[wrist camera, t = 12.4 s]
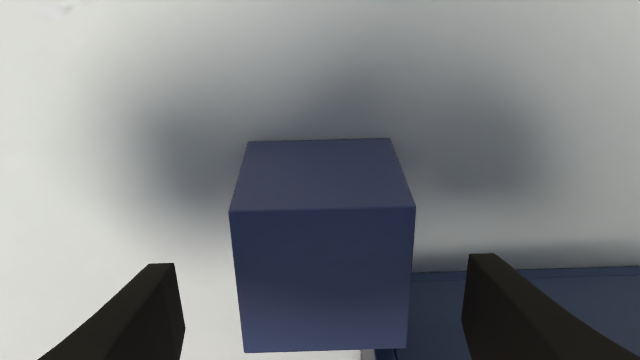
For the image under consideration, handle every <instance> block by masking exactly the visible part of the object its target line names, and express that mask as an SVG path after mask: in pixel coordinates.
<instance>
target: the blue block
mask: <svg viewBox="0 0 640 360" xmlns="http://www.w3.org/2000/svg"><path fill="white" fill-rule="evenodd" d="M228 214H229V223H230V232H231V241H232V250H233V258H234V267H235V276H236V285H237V294H238V303H239V312H240V321H241V330H242V338H243V347H244V352H245V353H264V352H297V351H330V350H363V349H396V348H406V347H407V334H408V319H409V304H410V289H411V274H412V259H413V245H414V230H415V215H416V206H415V203H414V200H413V198H412V195H411V192H410V190H409V187H408V185H407V182H406V179H405V177H404V174H403V171H402V169H401V166H400V164H399V161H398V158H397V156H396V153H395V151H394V148H393V145H392V143H391V140H390V138H376V139H339V140H302V141H265V142H248V144H247V148H246V151H245V155H244V158H243V162H242V165H241V169H240V172H239V176H238V180H237V183H236V187H235V190H234V194H233V197H232V201H231V204H230V208H229V211H228Z"/></svg>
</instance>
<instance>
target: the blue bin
mask: <svg viewBox="0 0 640 360" xmlns="http://www.w3.org/2000/svg"><path fill="white" fill-rule="evenodd" d="M516 271H517V272H518V273H520V274H521V275H522V276H523V277H524V278H526V279H527V280H528V281H529V282H531V283H532V284H533V285H534V286H536V287H537V288H538V289H539V290H541V291H542V292H543V293H545V294H546V295H547V296H548V297H550V298H551V299H552V300H554V301H555V302H556V303H558V304H559V305H560V306H562V307H563V308H564V309H566V310H567V311H569V312H570V313H571V314H573V315H574V316H576V317H577V318H579V319H580V320H581V321H583V322H584V323H586V324H587V325H589V326H590V327H592V328H593V329H595V330H596V331H598V332H599V333H601V334H602V335H604V336H605V337H607V338H609V339H610V340H612V341H614V342H615V343H617V344H619V345H620V346H622V347H624V348H625V349H627V350H629V351H631V352H632V353H634V354H636V355H637V356H639V357H640V266H637V267H602V268H568V269H534V270H516ZM466 275H467V271H465V272H430V273H412V274H411V289H410V304H409V319H408V334H407V347H406V348H396V349H363V350H361V360H472V359H471V356H470V352H469V349H468V345H467V342H466V338H465V334H464V330H463V326H462V322H461V315H462V307H463V299H464V291H465V283H466Z"/></svg>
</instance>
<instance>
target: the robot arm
mask: <svg viewBox="0 0 640 360" xmlns="http://www.w3.org/2000/svg"><path fill="white" fill-rule="evenodd" d="M461 322H462V326H463V330H464V334H465V338H466V342H467V345H468V349H469V352H470V356H471V359H472V360H640V357H639V356H637V355H636V354H634V353H632V352H631V351H629V350H627V349H625V348H624V347H622V346H620V345H619V344H617V343H615V342H614V341H612V340H610V339H609V338H607V337H605V336H604V335H602V334H601V333H599V332H598V331H596V330H595V329H593V328H592V327H590V326H589V325H587V324H586V323H584V322H583V321H581V320H580V319H579V318H577V317H576V316H574V315H573V314H571V313H570V312H569V311H567V310H566V309H564V308H563V307H562V306H560V305H559V304H558V303H556V302H555V301H554V300H552V299H551V298H550V297H548V296H547V295H546V294H545V293H543V292H542V291H541V290H539V289H538V288H537V287H536V286H534V285H533V284H532V283H531V282H529V281H528V280H527V279H526V278H524V277H523V276H522V275H521V274H520V273H518V272H517V271H516V270H515V269H513V268H512V267H511V266H510V265H508V264H507V263H506V262H505V261H503V260H502V259H501V258H500V257H498V256H497V255H496V254H494V253H488V254H469V258H468V266H467V275H466V283H465V291H464V299H463V307H462V315H461ZM184 333H185V323H184V318H183V312H182V306H181V300H180V295H179V289H178V283H177V277H176V272H175V266H174V263H158V264H148V265H147V266H146V267H145V268H144V269H143V270H141V271H140V272H139V273H138V274H137V275H136V276H135V277H134V278H133V279H132V280H131V281H130V282H129V283H128V284H127V285H126V286H125V287H123V288H122V289H121V290H120V291H119V292H118V293H117V294H116V295H115V296H114V297H113V298H112V299H111V300H109V301H108V302H107V303H106V304H105V305H104V306H103V307H102V308H101V309H100V310H98V311H97V312H96V313H95V314H94V315H93V316H92V317H91V318H89V319H88V320H87V321H86V322H85V323H83V324H82V325H81V326H80V327H79V328H77V329H76V330H75V331H74V332H73V333H71V334H70V335H69V336H68V337H66V338H65V339H64V340H63V341H62V342H60V343H59V344H58V345H57V346H55V347H54V348H53V349H51V350H50V351H49V352H47V353H46V354H45V355H43V356H42V357H41V358H39V359H38V360H179V359H180V355H181V350H182V344H183V339H184Z"/></svg>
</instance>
